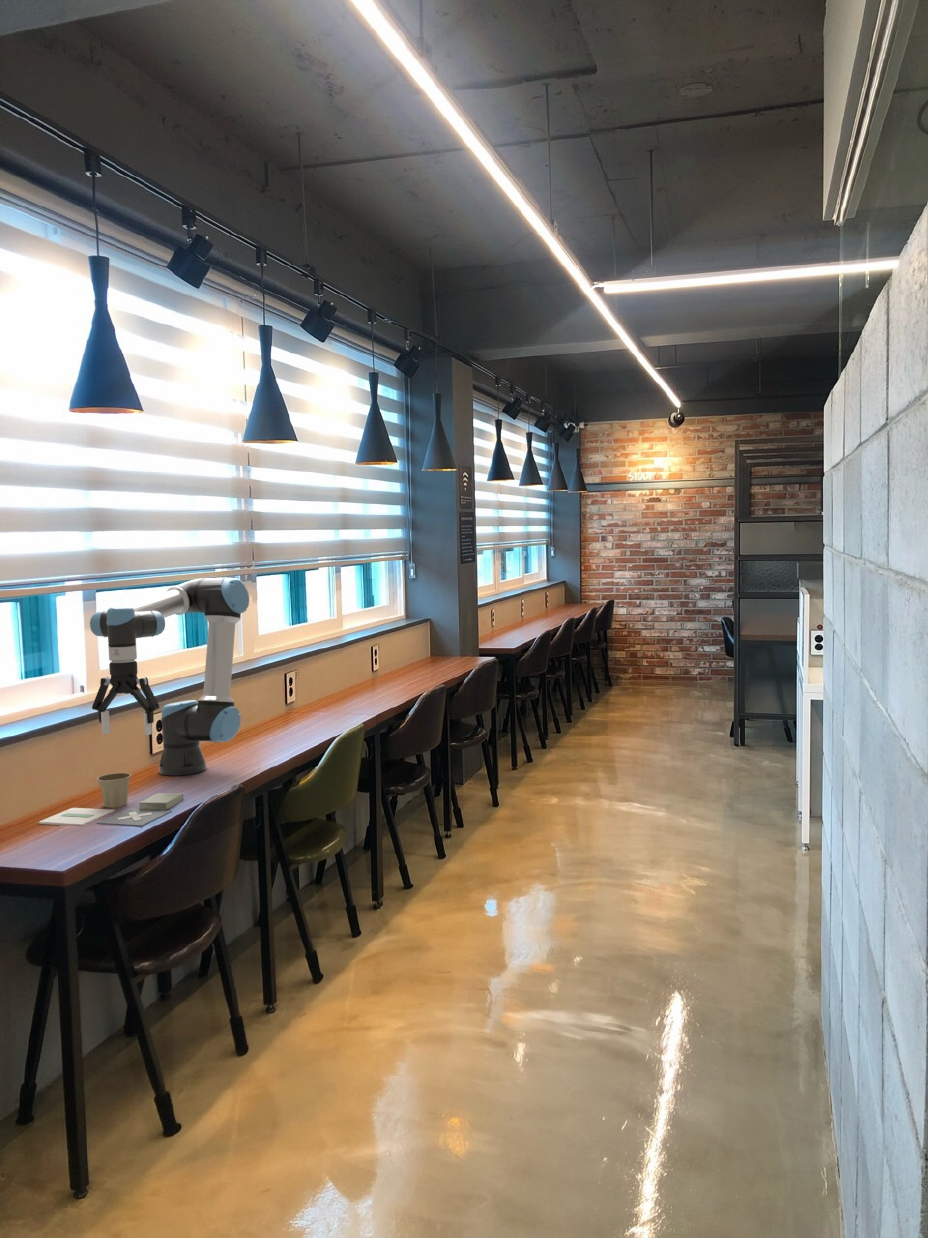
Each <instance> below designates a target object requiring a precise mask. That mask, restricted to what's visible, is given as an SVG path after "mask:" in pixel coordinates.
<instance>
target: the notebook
mask: <svg viewBox="0 0 928 1238" xmlns="http://www.w3.org/2000/svg"><path fill="white" fill-rule="evenodd" d="M183 800H184V793H178V792H175V793H173V792H172V793H171V792H170V793H169V792H168V793H167V792H166V793H165V792H164V793H162V792H161V793H159V792H158V793H155V794H153V795H151V796H150V797H147V798H146V799H144V800H142V801H140V802H139V803H138V804H139V805H138V806H139V807H138V809H140V810H169V809H170V808H173V807H174V806H176V805H178V804H179V803H180V802H181V801H183Z"/></svg>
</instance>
